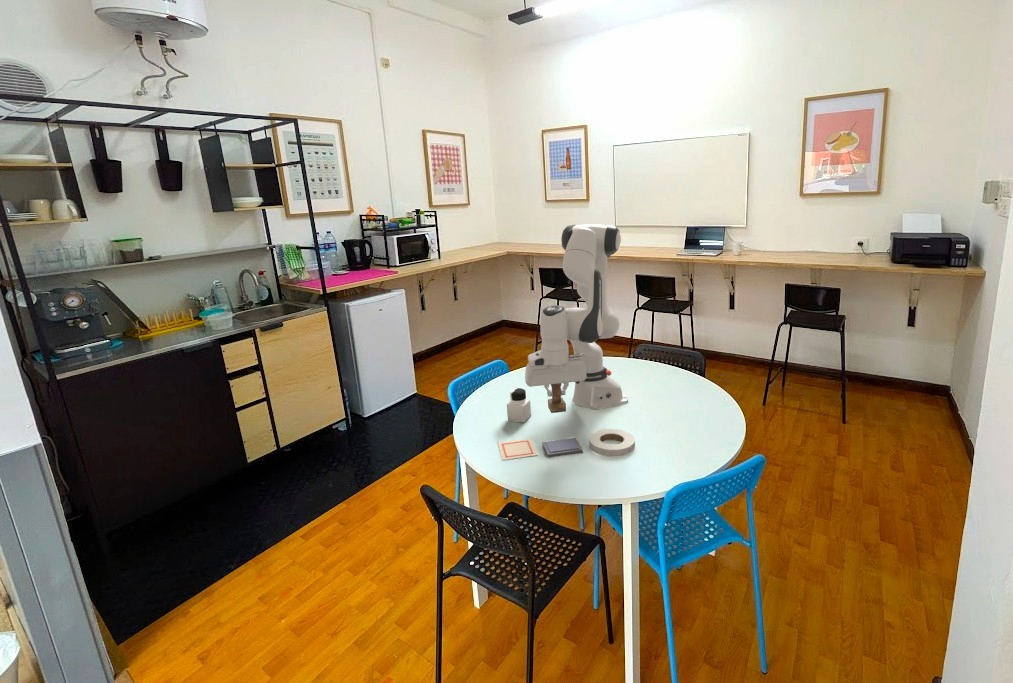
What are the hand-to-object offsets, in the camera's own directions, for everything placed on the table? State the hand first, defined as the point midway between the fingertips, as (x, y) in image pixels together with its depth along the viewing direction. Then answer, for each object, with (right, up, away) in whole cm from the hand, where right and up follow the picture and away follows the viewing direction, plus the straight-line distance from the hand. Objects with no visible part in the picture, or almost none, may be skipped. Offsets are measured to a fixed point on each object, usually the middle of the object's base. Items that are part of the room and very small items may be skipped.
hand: (556, 395), depth 171 cm
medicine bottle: (-12, -12, +30) cm, 35 cm away
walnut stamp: (0, -5, +1) cm, 5 cm away
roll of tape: (+20, -18, +5) cm, 27 cm away
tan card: (-13, -19, +7) cm, 24 cm away
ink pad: (+2, -19, +5) cm, 20 cm away
